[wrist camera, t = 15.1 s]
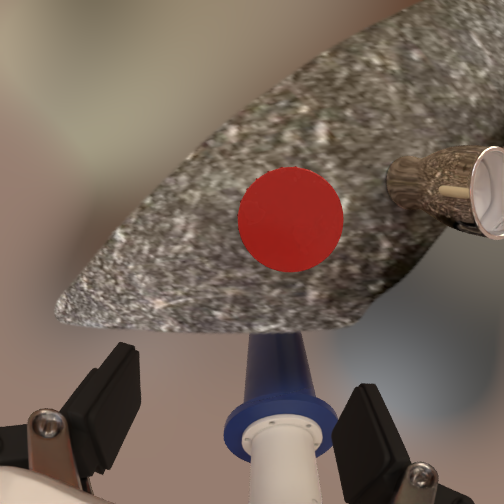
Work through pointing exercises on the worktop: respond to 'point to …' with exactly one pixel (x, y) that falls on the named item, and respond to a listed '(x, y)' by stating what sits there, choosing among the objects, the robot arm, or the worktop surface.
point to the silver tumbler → (454, 187)
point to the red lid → (290, 219)
